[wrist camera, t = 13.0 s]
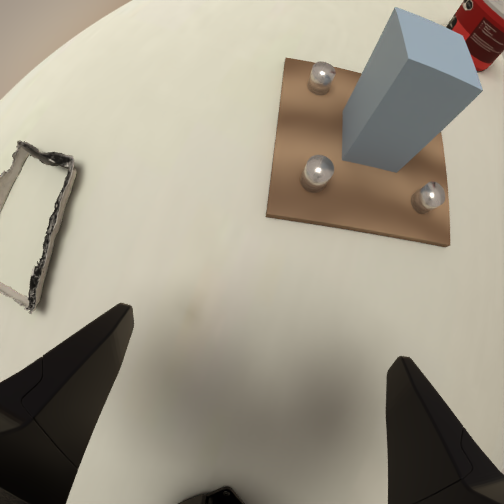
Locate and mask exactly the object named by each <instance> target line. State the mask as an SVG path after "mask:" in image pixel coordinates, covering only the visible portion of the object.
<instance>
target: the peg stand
mask: <svg viewBox="0 0 504 504" xmlns="http://www.w3.org/2000/svg"><path fill="white" fill-rule="evenodd" d="M360 76H361V73H357V72H353V71H349V70H345V69H341V68H337V67H333V66H332V65H330V64H328V63H326V62H317V63H313V62H308V61H303V60H297V59H291V58H286V59H285V65H284V73H283V82H282V90H281V99H280V107H279V115H278V124H277V132H276V140H275V148H274V156H273V164H272V172H271V180H270V188H269V196H268V204H267V212H266V217H270V218H277V219H284V220H291V221H297V222H304V223H310V224H317V225H323V226H329V227H335V228H341V229H348V230H354V231H359V232H365V233H371V234H377V235H383V236H388V237H394V238H399V239H405V240H410V241H416V242H421V243H426V244H432V245H437V246H442V247H447V246H450V218H449V199H448V186H447V175H446V165H445V157H444V149H443V142H442V135H441V132H440V133H439V134H438V135H437V136H436V137H434V138H433V139H432V140H431V141H430V142H429V143H428V144H427V145H426V146H425V147H424V148H423V149H422V150H421V151H420V152H419V153H417V154H416V155H415V156H414V157H413V158H412V159H411V160H410V161H409V162H408V163H407V164H406V165H405V166H403V167H402V168H401V169H400V170H399V171H398V172H397V173H395V172H391V171H387V170H383V169H379V168H375V167H370V166H366V165H362V164H357V163H352V162H348V161H343V160H342V127H343V110H344V108H345V106H346V104H347V102H348V100H349V98H350V96H351V94H352V92H353V90H354V88H355V86H356V84H357V82H358V80H359V78H360Z"/></svg>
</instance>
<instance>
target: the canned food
mask: <svg viewBox="0 0 504 504" xmlns="http://www.w3.org/2000/svg"><path fill="white" fill-rule="evenodd" d="M446 28H448V29H450V30H452V31H454V32H456V33H458V34H460V35H462V36H463V37H464V40H465V42H466V45H467V47H468V50H469V52H470V55H471V57H472V60H473V63H474V66H475V68H476V71H483V70H485V69H487V68H488V67H489V66H490V65H491V64H492V63H493V61H494V60H495V59H496V58H497V57H498V56H499V55H500V54H501V53H502V52H503V50H504V0H464V1H463V3H462V4H461V6H460V7H459V9H458V10H457V12H456V13H455V15H454V16H453V18H452V19H451V21H450V22H449V24H448V25H447V27H446Z"/></svg>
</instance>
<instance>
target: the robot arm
mask: <svg viewBox="0 0 504 504" xmlns="http://www.w3.org/2000/svg"><path fill="white" fill-rule="evenodd" d="M133 328H134V318H133V309H132V306H130V305H128V304H124V303H119V304H117V305H116V306H114V307H113V308H111V309H110V310H108V311H107V312H105V313H104V314H102V315H101V316H99V317H98V318H97V319H95V320H94V321H92V322H91V323H89V324H88V325H86V326H85V327H83V328H82V329H80V330H79V331H78V332H76V333H75V334H73V335H72V336H70V337H69V338H67V339H66V340H65V341H63V342H62V343H60V344H59V345H57V346H56V347H55V348H53V349H52V350H50V351H49V352H47V353H46V354H45V355H43V357H40V358H39V359H37V360H36V361H35V362H33V363H32V364H30V365H29V366H27V367H26V368H24V369H23V370H21V371H19V372H18V373H16V374H14V375H13V376H11V377H9V378H7V379H6V380H4V381H2V382H0V504H66V501H67V499H68V496H69V493H70V490H71V487H72V485H73V482H74V479H75V477H76V474H77V471H78V468H79V466H80V463H81V460H82V458H83V455H84V453H85V450H86V448H87V445H88V443H89V440H90V438H91V435H92V433H93V430H94V428H95V426H96V423H97V421H98V418H99V416H100V414H101V411H102V409H103V407H104V404H105V402H106V400H107V397H108V395H109V393H110V390H111V388H112V386H113V384H114V381H115V379H116V377H117V375H118V373H119V370H120V368H121V365H122V362H123V359H124V356H125V352H126V349H127V346H128V343H129V340H130V337H131V334H132V331H133ZM386 427H387V448H388V504H504V475H503V474H502V473H501V472H500V471H499V470H498V469H497V467H496V466H495V465H494V464H493V463H492V462H491V460H490V459H489V458H488V457H487V456H486V455H485V453H484V452H483V451H482V450H481V449H480V447H479V446H478V445H477V444H476V443H475V441H474V440H473V439H472V437H471V436H470V435H469V433H468V432H467V431H466V429H465V428H464V427H463V425H462V424H461V423H460V421H459V420H458V419H457V417H456V416H455V415H454V413H453V412H452V411H451V409H450V408H449V407H448V405H447V404H446V403H445V401H444V400H443V399H442V397H441V396H440V395H439V394H438V392H437V391H436V390H435V388H434V387H433V386H432V384H431V383H430V382H429V381H428V379H427V378H426V377H425V376H424V374H423V373H422V372H421V370H420V369H419V368H418V367H417V365H416V364H415V363H414V362H413V360H412V359H411V358H410V357H405V356H399V357H398V358H397V359H396V360H395V362H394V363H393V364H392V366H391V367H390V368H389V370H388V372H387V387H386ZM225 491H227V492H229V493H228V494H225V493H224V492H225ZM178 504H244V502H243V501H242V500H241V499H240V498H239V497H238V496H237V494H236V493H235V492H234V491H233V490H232V489H231V488H230V487H223V488H220V489H218V490H216V491H213V492H211V493H209V494H206V495H205V494H201V495H199V496H196V497H194V498H191V499H189V500H186V501H183V502H181V503H178Z"/></svg>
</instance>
